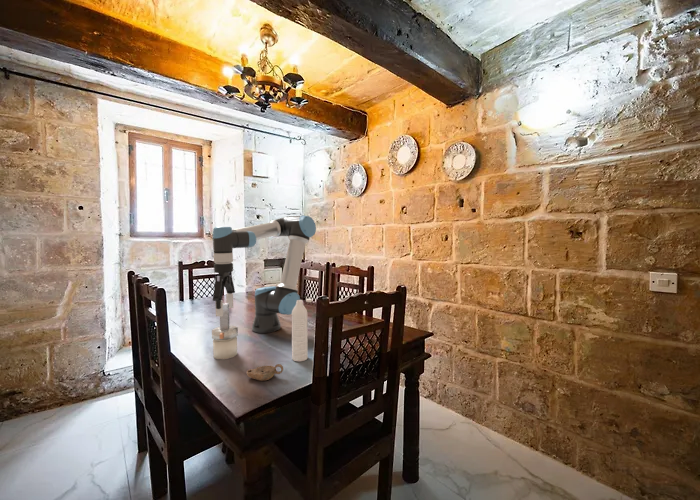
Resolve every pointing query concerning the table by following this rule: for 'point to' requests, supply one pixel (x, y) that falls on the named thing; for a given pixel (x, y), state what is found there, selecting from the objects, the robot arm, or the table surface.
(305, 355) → the water bottle
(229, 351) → the jar
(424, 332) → the table surface
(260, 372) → the oil lamp
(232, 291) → the robot arm
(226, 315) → the lid
